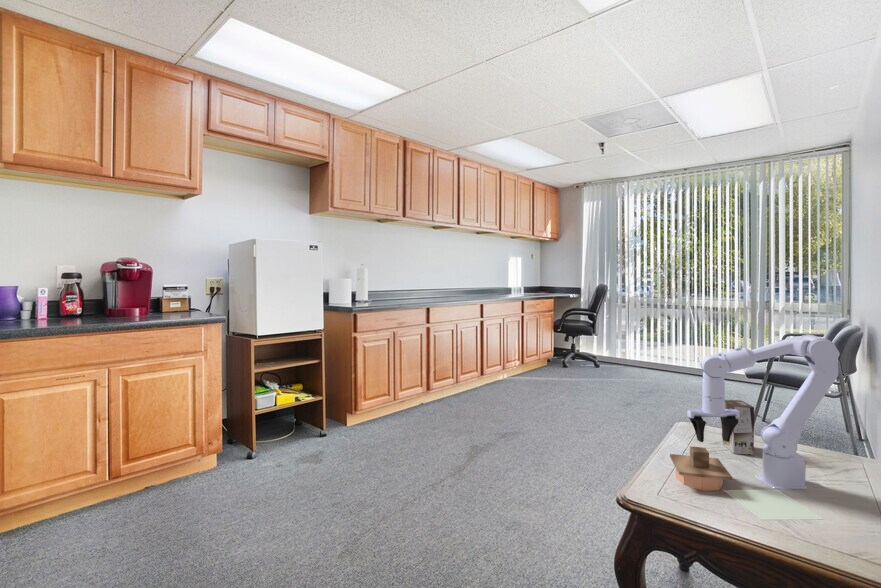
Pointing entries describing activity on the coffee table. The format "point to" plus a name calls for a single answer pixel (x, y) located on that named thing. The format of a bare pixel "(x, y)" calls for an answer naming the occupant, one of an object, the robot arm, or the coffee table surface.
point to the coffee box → (741, 428)
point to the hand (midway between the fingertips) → (713, 440)
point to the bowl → (700, 482)
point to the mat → (772, 505)
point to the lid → (700, 464)
